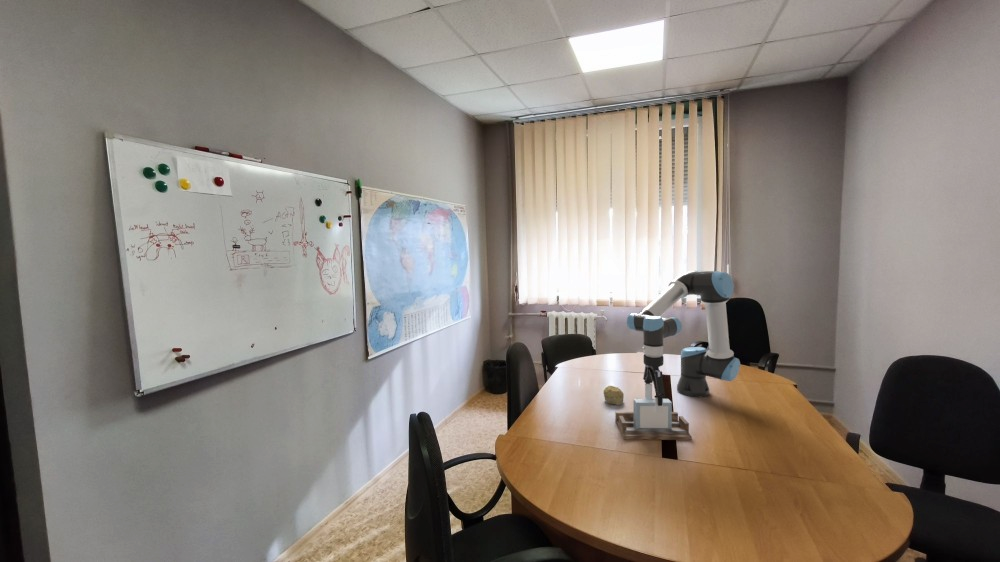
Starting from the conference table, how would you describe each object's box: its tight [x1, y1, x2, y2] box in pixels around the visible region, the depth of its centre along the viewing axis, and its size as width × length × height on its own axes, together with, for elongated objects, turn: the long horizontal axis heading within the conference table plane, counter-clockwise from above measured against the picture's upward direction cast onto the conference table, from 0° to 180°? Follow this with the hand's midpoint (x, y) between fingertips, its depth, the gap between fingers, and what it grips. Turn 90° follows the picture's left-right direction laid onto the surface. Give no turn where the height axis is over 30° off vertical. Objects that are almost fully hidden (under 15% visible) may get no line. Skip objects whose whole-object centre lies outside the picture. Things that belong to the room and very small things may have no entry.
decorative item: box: [603, 385, 625, 406], centre depth 191 cm, size 10×10×10 cm
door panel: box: [633, 398, 673, 429], centre depth 159 cm, size 14×4×12 cm, turn 86°
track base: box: [614, 411, 693, 441], centre depth 161 cm, size 26×16×6 cm, turn 86°
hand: (653, 405), depth 159 cm, fingers open, 13 cm apart
